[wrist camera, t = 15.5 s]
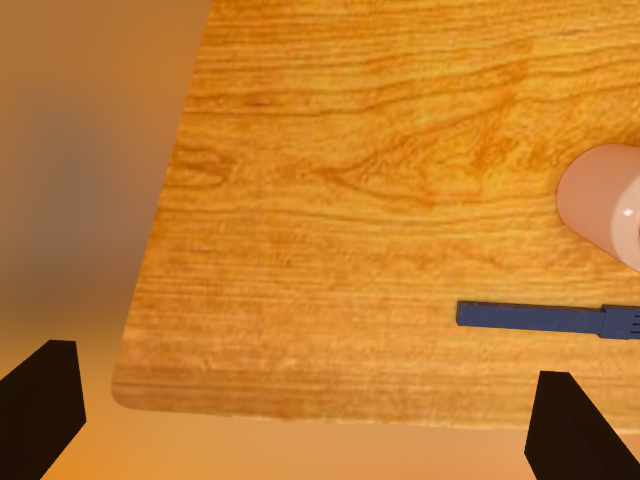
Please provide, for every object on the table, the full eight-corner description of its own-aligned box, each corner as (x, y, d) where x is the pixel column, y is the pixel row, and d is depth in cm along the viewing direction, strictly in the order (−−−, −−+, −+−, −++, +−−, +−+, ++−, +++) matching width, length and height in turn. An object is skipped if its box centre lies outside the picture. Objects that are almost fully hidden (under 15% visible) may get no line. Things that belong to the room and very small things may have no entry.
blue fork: (454, 325, 42) (456, 330, 41) (458, 296, 41) (461, 300, 40) (701, 340, 41) (707, 344, 40) (710, 310, 40) (717, 314, 39)
